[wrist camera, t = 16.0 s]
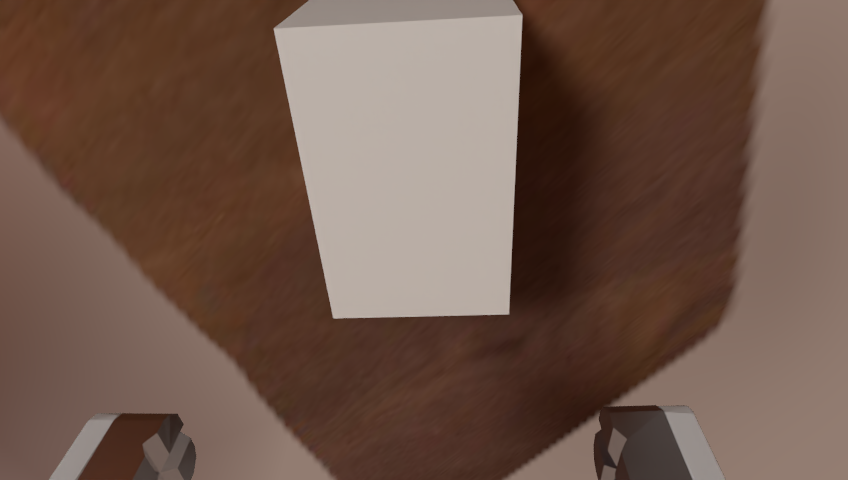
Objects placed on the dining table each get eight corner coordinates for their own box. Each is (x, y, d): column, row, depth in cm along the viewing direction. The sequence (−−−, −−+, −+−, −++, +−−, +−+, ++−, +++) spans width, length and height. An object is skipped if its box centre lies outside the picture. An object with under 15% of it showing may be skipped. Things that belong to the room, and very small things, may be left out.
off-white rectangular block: (325, -13, 21) (273, 28, 15) (497, -23, 21) (522, 14, 14) (359, 217, 27) (333, 318, 21) (492, 213, 27) (508, 314, 20)
